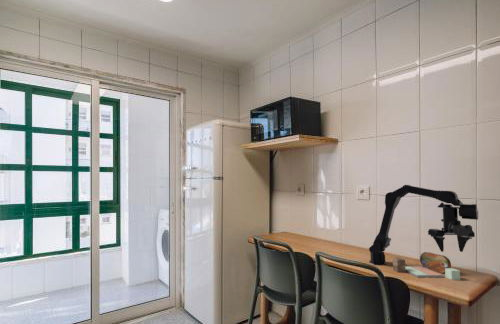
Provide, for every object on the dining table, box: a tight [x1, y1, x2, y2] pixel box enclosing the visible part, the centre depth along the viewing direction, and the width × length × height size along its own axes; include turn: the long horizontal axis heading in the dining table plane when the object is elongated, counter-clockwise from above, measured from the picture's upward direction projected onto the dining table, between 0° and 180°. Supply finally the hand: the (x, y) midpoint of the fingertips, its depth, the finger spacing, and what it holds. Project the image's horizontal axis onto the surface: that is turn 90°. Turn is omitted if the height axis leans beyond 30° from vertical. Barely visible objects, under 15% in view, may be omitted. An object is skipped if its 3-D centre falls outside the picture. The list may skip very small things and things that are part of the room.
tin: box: [419, 251, 452, 274], centre depth 145 cm, size 15×3×8 cm, turn 21°
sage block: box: [444, 267, 461, 281], centre depth 133 cm, size 4×4×4 cm
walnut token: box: [392, 257, 406, 273], centre depth 143 cm, size 4×4×6 cm
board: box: [405, 265, 446, 279], centre depth 142 cm, size 13×17×1 cm
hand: (451, 251), depth 134 cm, fingers open, 9 cm apart
